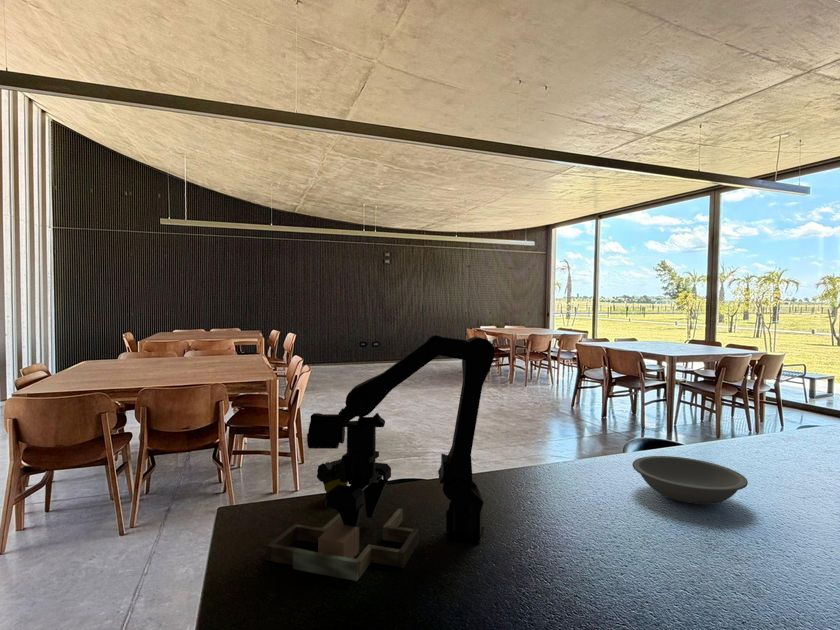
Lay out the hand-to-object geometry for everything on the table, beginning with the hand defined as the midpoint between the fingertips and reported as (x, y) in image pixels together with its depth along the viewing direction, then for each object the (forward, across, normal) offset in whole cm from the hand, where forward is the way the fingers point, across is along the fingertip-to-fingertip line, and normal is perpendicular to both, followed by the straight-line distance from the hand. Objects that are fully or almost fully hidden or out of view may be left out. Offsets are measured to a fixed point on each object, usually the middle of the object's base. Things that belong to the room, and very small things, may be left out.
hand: (360, 526), depth 88 cm
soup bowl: (+2, -42, +68) cm, 80 cm away
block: (+2, +9, 0) cm, 9 cm away
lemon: (+2, -14, -13) cm, 19 cm away
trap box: (+2, +3, 0) cm, 3 cm away
